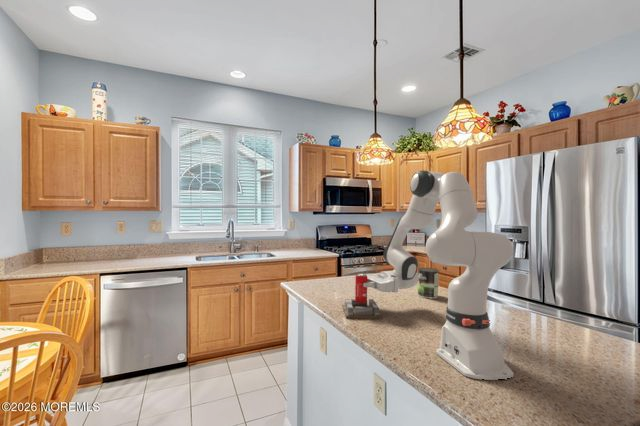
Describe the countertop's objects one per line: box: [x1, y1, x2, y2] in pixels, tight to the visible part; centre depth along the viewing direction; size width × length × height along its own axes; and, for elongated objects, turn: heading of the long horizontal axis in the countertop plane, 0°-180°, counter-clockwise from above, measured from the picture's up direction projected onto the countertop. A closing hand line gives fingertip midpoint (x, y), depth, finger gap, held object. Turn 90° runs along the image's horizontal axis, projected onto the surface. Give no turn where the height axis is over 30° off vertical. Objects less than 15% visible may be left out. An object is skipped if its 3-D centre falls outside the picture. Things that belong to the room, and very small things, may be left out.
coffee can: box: [417, 267, 439, 300], centre depth 165 cm, size 10×10×14 cm
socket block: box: [341, 298, 383, 320], centre depth 137 cm, size 15×15×4 cm
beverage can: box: [354, 273, 368, 303], centre depth 138 cm, size 5×5×12 cm
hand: (360, 283), depth 137 cm, fingers closed on beverage can, 4 cm apart
